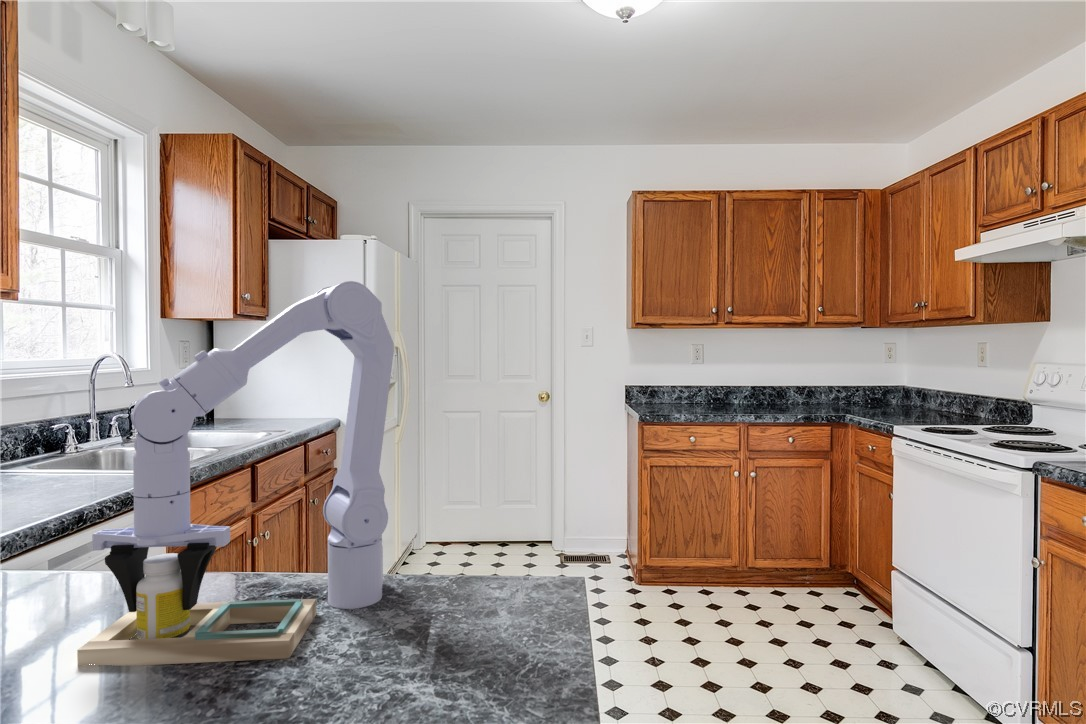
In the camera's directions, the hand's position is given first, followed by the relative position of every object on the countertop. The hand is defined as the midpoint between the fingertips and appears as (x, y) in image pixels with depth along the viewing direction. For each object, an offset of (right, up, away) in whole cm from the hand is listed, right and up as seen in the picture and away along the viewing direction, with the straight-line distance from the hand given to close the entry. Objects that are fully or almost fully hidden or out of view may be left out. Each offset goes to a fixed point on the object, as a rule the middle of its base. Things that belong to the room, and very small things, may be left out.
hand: (163, 607), depth 75 cm
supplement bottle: (0, -4, 0) cm, 4 cm away
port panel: (+5, -4, +1) cm, 6 cm away
